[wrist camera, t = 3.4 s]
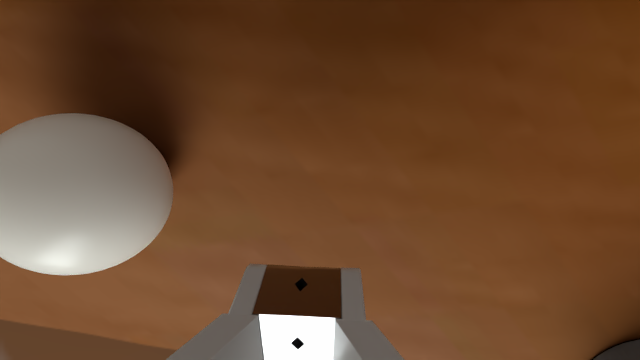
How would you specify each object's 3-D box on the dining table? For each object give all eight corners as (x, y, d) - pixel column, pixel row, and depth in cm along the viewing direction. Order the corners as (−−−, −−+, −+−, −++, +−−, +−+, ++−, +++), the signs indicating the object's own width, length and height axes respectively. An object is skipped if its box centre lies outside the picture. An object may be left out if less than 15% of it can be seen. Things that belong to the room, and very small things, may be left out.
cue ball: (186, 101, 11) (67, 155, 7) (206, 219, 14) (129, 321, 9) (52, 94, 12) (-157, 139, 7) (95, 210, 14) (-37, 304, 9)
